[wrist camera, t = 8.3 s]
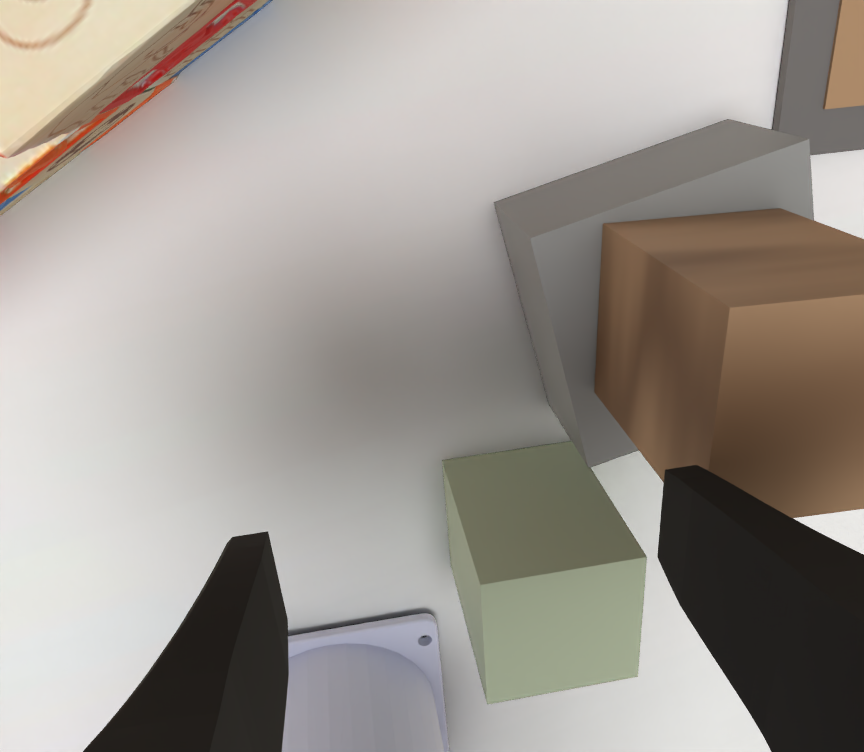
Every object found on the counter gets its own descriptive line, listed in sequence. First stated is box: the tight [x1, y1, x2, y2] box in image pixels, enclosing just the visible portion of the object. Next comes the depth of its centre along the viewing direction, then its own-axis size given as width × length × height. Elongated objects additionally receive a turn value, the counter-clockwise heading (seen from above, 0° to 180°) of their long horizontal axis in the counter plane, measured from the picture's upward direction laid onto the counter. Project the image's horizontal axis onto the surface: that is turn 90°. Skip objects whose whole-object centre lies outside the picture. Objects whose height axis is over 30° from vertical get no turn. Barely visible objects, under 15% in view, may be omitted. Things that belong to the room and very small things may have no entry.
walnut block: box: [594, 208, 864, 518], centre depth 16 cm, size 4×4×6 cm
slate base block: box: [494, 119, 814, 468], centre depth 21 cm, size 7×7×4 cm
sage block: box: [442, 441, 647, 704], centre depth 23 cm, size 4×4×6 cm
